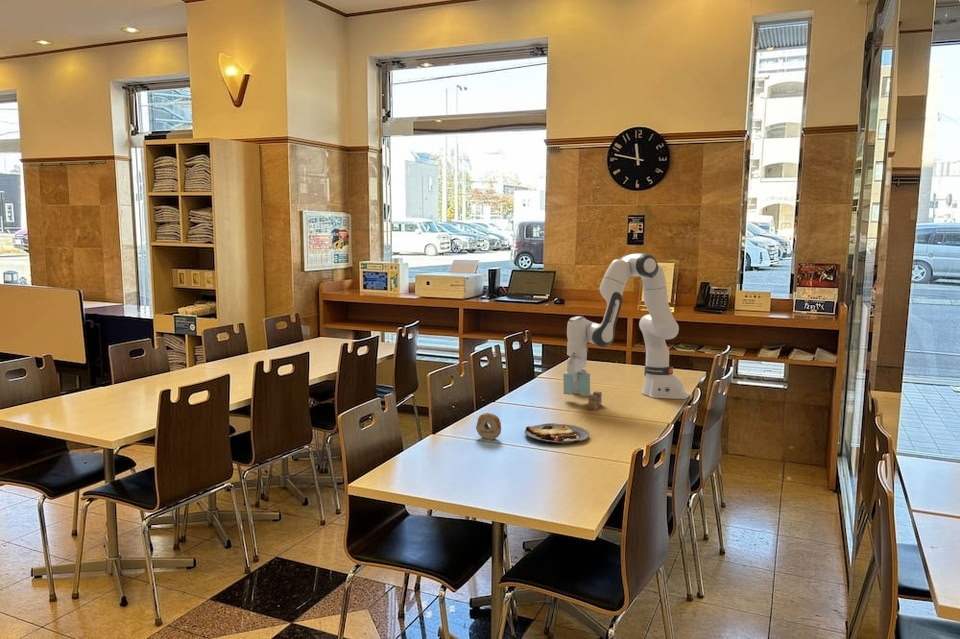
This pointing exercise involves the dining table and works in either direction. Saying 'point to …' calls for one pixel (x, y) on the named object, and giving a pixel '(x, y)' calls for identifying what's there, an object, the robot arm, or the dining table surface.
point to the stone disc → (484, 429)
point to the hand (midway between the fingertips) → (576, 380)
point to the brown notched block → (594, 400)
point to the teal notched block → (577, 383)
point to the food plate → (556, 432)
